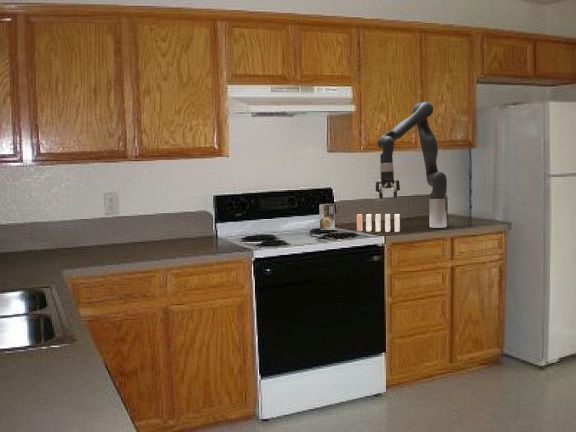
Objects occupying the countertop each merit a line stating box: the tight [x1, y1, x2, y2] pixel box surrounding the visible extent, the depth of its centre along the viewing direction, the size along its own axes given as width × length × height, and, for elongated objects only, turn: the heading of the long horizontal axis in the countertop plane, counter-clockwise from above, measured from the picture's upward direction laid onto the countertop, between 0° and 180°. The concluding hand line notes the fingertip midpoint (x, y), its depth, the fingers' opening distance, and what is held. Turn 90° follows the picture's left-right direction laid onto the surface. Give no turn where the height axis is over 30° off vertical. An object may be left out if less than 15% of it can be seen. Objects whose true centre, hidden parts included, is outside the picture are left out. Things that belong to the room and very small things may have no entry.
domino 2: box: [365, 213, 373, 233], centre depth 355 cm, size 2×5×10 cm, turn 163°
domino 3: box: [374, 213, 382, 233], centre depth 353 cm, size 2×5×10 cm, turn 163°
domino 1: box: [356, 213, 364, 232], centre depth 357 cm, size 2×5×10 cm, turn 163°
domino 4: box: [384, 213, 391, 233], centre depth 352 cm, size 2×5×10 cm, turn 163°
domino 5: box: [394, 213, 401, 233], centre depth 350 cm, size 2×5×10 cm, turn 163°
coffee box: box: [318, 203, 336, 231], centre depth 367 cm, size 9×6×16 cm
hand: (388, 198), depth 352 cm, fingers open, 8 cm apart
